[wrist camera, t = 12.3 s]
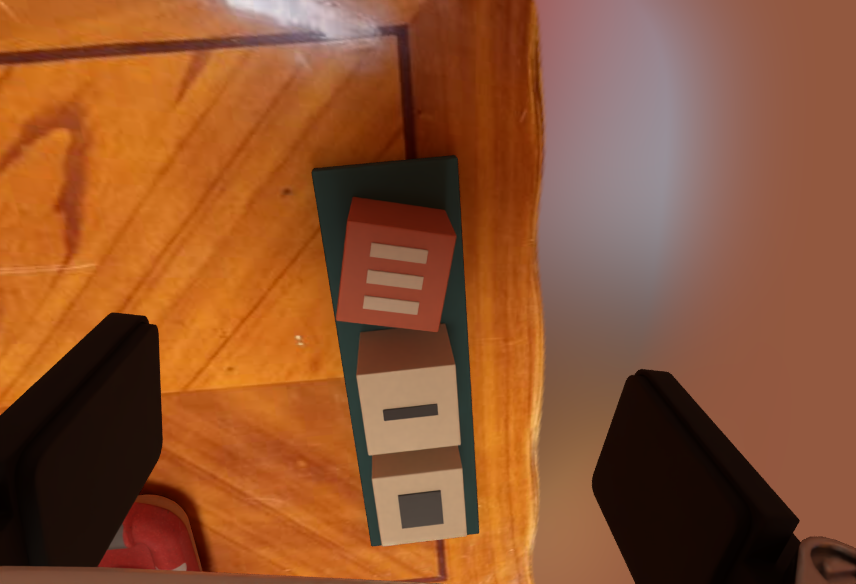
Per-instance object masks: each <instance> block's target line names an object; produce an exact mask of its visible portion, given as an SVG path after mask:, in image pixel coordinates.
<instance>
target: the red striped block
mask: <svg viewBox="0 0 856 584" xmlns="http://www.w3.org/2000/svg"><path fill="white" fill-rule="evenodd" d="M455 242H456V234H455V231H454V229H453V227H452V225H451V222H450V220H449V218H448V216H447V213H446V211H445V210H441V209H434V208H428V207H421V206H414V205H407V204H400V203H393V202H386V201H380V200H373V199H366V198H359V197H353V198H352V202H351V206H350V211H349V215H348V219H347V226H346V235H345V243H344V252H343V261H342V270H341V278H340V287H339V296H338V305H337V314H336V320H337V321H344V322H352V323H361V324H370V325H378V326H387V327H396V328H404V329H413V330H422V331H431V332H438V331H439V326H440V321H441V315H442V310H443V305H444V300H445V294H446V289H447V284H448V279H449V274H450V268H451V263H452V258H453V253H454V247H455Z"/></svg>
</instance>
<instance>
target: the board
mask: <svg viewBox="0 0 856 584" xmlns="http://www.w3.org/2000/svg"><path fill="white" fill-rule="evenodd" d="M312 179H313V185H314V191H315V197H316V204H317V210H318V216H319V222H320V228H321V235H322V241H323V247H324V253H325V260H326V266H327V272H328V278H329V285H330V291H331V297H332V303H333V310H334V316H335V322H336V328H337V335H338V341H339V347H340V353H341V360H342V366H343V372H344V378H345V385H346V391H347V397H348V403H349V409H350V416H351V422H352V428H353V434H354V441H355V447H356V453H357V459H358V466H359V472H360V478H361V484H362V491H363V497H364V503H365V509H366V516H367V522H368V528H369V534H370V541H371V546H380V545H382V544H381V537H380V531H379V524H378V517H377V511H376V504H375V497H374V491H373V484H372V455H368V450H367V443H366V437H365V430H364V423H363V417H362V410H361V403H360V397H359V390H358V383H357V377H356V374H357V363H358V351H359V339H360V332H367V331H377V330H386V329H396V327H387V326H378V325H370V324H361V323H352V322H344V321H337V320H336V314H337V305H338V296H339V287H340V278H341V270H342V261H343V252H344V243H345V235H346V226H347V219H348V215H349V211H350V206H351V202H352V198H353V197H359V198H366V199H373V200H380V201H386V202H393V203H400V204H407V205H414V206H421V207H428V208H434V209H441V210H445V211H446V213H447V216H448V218H449V220H450V222H451V225H452V227H453V229H454V231H455V234H456V242H455V247H454V253H453V258H452V263H451V268H450V274H449V279H448V284H447V289H446V294H445V300H444V305H443V310H442V315H441V321H440V324H443V323H445V325H446V329H447V333H448V337H449V341H450V345H451V349H452V353H453V357H454V361H455V365H456V380H457V394H458V409H459V423H460V438H461V445H458V449H459V454H460V459H461V464H462V470H463V484H464V499H465V513H466V527H467V535H470V534H478V533H479V520H478V503H477V486H476V468H475V451H474V434H473V416H472V399H471V382H470V364H469V347H468V330H467V312H466V295H465V278H464V260H463V243H462V226H461V208H460V191H459V174H458V159H457V157H456V156H455V155H451V156H441V157H430V158H419V159H408V160H398V161H387V162H376V163H366V164H355V165H344V166H333V167H323V168H314V169H313V170H312Z"/></svg>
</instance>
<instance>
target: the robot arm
mask: <svg viewBox="0 0 856 584" xmlns="http://www.w3.org/2000/svg"><path fill="white" fill-rule="evenodd" d="M162 442H163V437H162V411H161V385H160V359H159V333H158V328H157V326H156V325H153V324H149V321H148V319H147V317H146V316H141V315H132V314H122V313H110V314H109V315H108V316H107V317H105V318H104V319H103V320H102V321H101V322H100V323H99V324H98V325H97V326H96V327H95V328H94V329H93V330H92V331H90V332H89V333H88V334H87V335H86V336H85V337H84V338H83V339H82V340H81V341H80V342H79V343H78V344H77V345H76V346H74V347H73V348H72V349H71V350H70V351H69V352H68V353H67V354H66V355H65V356H64V357H63V358H62V359H61V360H59V361H58V362H57V363H56V364H55V365H54V366H53V367H52V368H51V369H50V370H49V371H48V372H47V373H46V374H45V375H43V376H42V377H41V378H40V379H39V380H38V381H37V382H36V383H35V384H34V385H32V386H31V387H30V388H29V389H28V390H27V391H26V392H25V393H24V394H23V395H22V396H21V397H20V398H19V399H17V400H16V401H15V402H14V403H13V404H12V405H11V406H10V407H9V408H8V409H7V410H6V411H5V412H4V413H2V414H1V415H0V584H439V583H420V582H401V581H382V580H363V579H343V578H322V577H301V576H280V575H259V574H238V573H217V572H196V571H175V570H153V569H131V568H109V567H98V565H99V564H100V562H101V560H102V558H103V557H104V555H105V553H106V551H107V549H108V548H109V546H110V544H111V542H112V541H113V539H114V537H115V535H116V534H117V532H118V530H119V528H120V526H121V525H122V523H123V521H124V519H125V518H126V516H127V514H128V512H129V511H130V509H131V507H132V505H133V504H134V502H135V500H136V498H137V496H138V495H139V493H140V491H141V489H142V488H143V486H144V484H145V482H146V481H147V479H148V477H149V475H150V473H151V472H152V470H153V468H154V466H155V465H156V463H157V461H158V459H159V456H160V453H161V449H162ZM592 489H593V492H594V495H595V497H596V500H597V502H598V504H599V506H600V508H601V510H602V513H603V515H604V517H605V519H606V521H607V523H608V526H609V527H610V530H611V532H612V534H613V536H614V539H615V541H616V543H617V545H618V547H619V549H620V551H621V554H622V556H623V558H624V560H625V562H626V564H627V567H628V568H629V571H630V573H631V575H632V577H633V579H634V581H635V584H856V548H854V547H852V546H849V545H847V544H844V543H842V542H840V541H837V540H834V539H830V538H826V537H808V538H806V539H804V540H802V542H800V541H799V540H798V539H797V538H796V536H795V535H794V534H793V531H794V530H795V528H796V527H797V524H798V523H799V519H798V518H797V517H796V516H795V514H794V513H793V512H792V511H791V510H790V509H789V508H788V507H787V505H786V504H785V503H784V502H783V501H782V500H781V498H780V497H779V496H778V495H777V494H776V493H775V492H774V491H773V489H771V487H770V486H769V485H768V484H767V483H766V481H765V480H764V479H763V478H762V477H761V476H760V475H759V473H758V472H757V471H756V470H755V469H754V468H753V467H752V465H751V464H750V463H749V462H748V461H747V460H746V459H745V458H744V456H743V455H742V454H741V453H740V452H739V451H738V450H737V448H736V447H735V446H734V445H733V444H732V443H731V442H730V440H729V439H728V438H727V437H726V436H725V435H724V434H723V433H722V431H721V430H720V429H719V428H718V427H717V426H716V424H715V423H714V422H713V421H712V420H711V419H710V418H709V416H708V415H707V414H706V413H705V412H704V411H703V410H702V409H701V408H700V406H699V405H698V404H697V403H696V402H695V401H694V399H693V398H692V397H691V396H690V395H689V394H688V393H687V391H686V390H685V389H684V388H683V387H682V386H681V385H680V384H679V383H678V381H677V380H676V379H675V378H674V377H673V376H672V374H670V373H669V372H664V371H654V370H645V369H640V370H638V371H637V372H636V373H635V375H631V376H629V377H628V378H627V380H626V382H625V385H624V388H623V391H622V394H621V397H620V399H619V402H618V405H617V408H616V411H615V414H614V416H613V419H612V422H611V425H610V428H609V431H608V434H607V437H606V439H605V442H604V445H603V448H602V451H601V454H600V456H599V459H598V462H597V465H596V468H595V471H594V474H593V478H592Z"/></svg>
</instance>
